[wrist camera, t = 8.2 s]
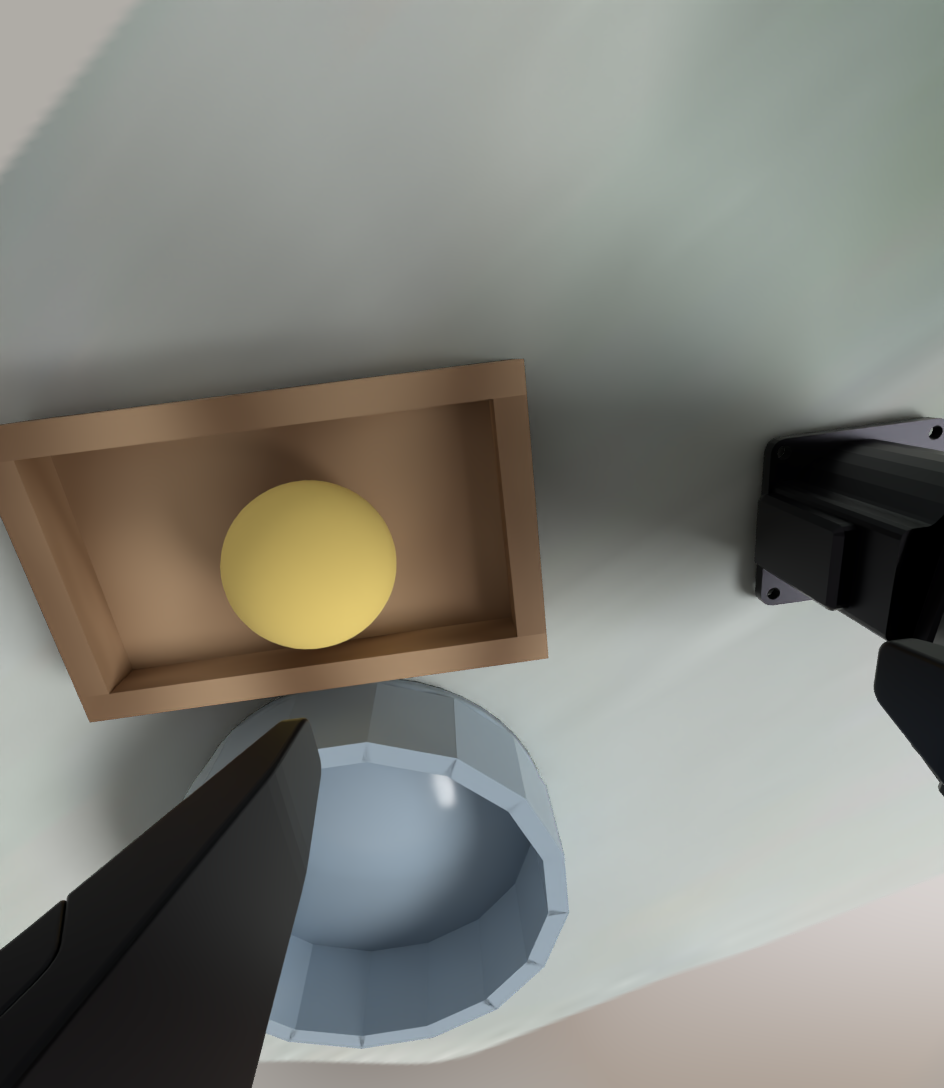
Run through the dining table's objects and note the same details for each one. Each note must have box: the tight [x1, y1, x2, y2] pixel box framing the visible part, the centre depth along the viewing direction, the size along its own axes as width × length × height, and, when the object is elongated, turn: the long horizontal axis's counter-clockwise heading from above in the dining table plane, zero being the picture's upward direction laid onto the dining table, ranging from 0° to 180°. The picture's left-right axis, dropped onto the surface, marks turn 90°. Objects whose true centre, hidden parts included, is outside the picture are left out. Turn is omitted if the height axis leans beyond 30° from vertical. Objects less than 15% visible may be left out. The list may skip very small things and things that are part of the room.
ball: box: [220, 480, 396, 649], centre depth 16 cm, size 5×5×5 cm
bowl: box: [183, 679, 569, 1049], centre depth 22 cm, size 16×16×4 cm
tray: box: [0, 359, 548, 722], centre depth 18 cm, size 16×10×2 cm, turn 97°
